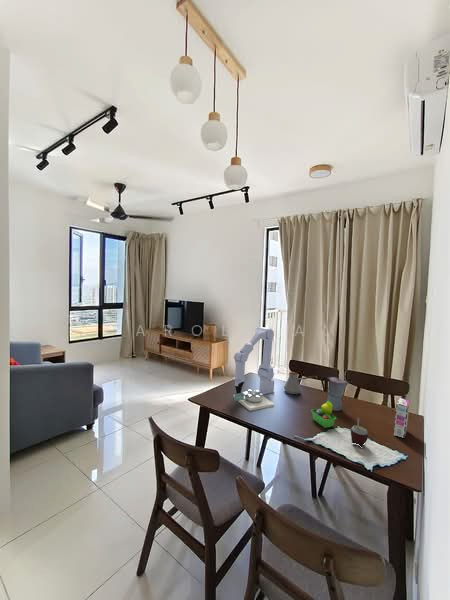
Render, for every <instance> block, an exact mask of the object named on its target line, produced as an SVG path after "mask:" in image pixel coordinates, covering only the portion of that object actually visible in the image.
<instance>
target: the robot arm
mask: <svg viewBox="0 0 450 600" xmlns="http://www.w3.org/2000/svg"><path fill="white" fill-rule="evenodd" d="M261 339H262V340H263V349H262V351H263V352H262V353H263V354H262V363H261V364H260V365H259V366H258V370H257V375H258V378H259V387H258V388H257V389H256V390H258V391H259V393H263V395H266V394H267V395H268V394H274V393H275V380H274V379H273V378H274V377H275V376H274V375H275V373H274V367H273V366H272V365H271V362H272V350H273V341H274V330H273V329H272V328H269V327H263V326H258V327H257V328H256V329H255V334H254V335H253V336H252V338H251V340H250V341H249V342H247V343H244V345H243V346H242V348H241V349H240V350H239V351H237V352H235V353H234V356H233V359H234V363H235V370H234V377H232V380H234V382H233V384H234V388H235V393H241V392H242V389H243V387H244V384H245V369H246V362H247V361H248V359H249V355H250V354H251V353H252V351H253V350H254V346H255V345H256V344H257V343H258V342H260V340H261Z"/></svg>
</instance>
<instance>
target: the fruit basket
mask: <svg viewBox="0 0 450 600" xmlns="http://www.w3.org/2000/svg"><path fill="white" fill-rule="evenodd" d="M332 407H333V406H332V404H331V402H329V401H327V400H326V402H325V403H323V404H322V405H321V407H320V408H314V409H311V413H312V414H311V415H312V419H313V420H314V421H315V422H316V423H317V424H319V425H320V426H322V427H323V428H324V429H325V428H331V427H333V425H334V423H335V421H336V420H337V417H336V416H334V415H333V414H332V412H333V410H332Z"/></svg>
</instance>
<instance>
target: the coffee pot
mask: <svg viewBox="0 0 450 600" xmlns="http://www.w3.org/2000/svg"><path fill="white" fill-rule="evenodd" d="M288 376H289V377H288V379H287V380H286V382H285V384H284V386H283V390H284V391H285V392H286V393H287V394H289V395H292V394H296V395H299V394H300V393H301V391H302V388H301V387H302V386H301V385H300V380H306V379H312V378H313V379H314V378H316V379H317V380H318V377H317V375H311V376H310V375H309V376H306V377H300V378H298V376H299V373H297V372H288Z"/></svg>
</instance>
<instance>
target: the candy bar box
mask: <svg viewBox="0 0 450 600" xmlns="http://www.w3.org/2000/svg"><path fill="white" fill-rule="evenodd" d="M410 402H411V401H410V400H409V399H405V398H401V397H398V400H397V402H396V405H395V406H396V407H395V416H394V424H393V436H394V437H396V436H398V437H397V438H399V437H402V438H405V439H406V435H407V430H408V423H409V411H410ZM402 438H401V439H402Z"/></svg>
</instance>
